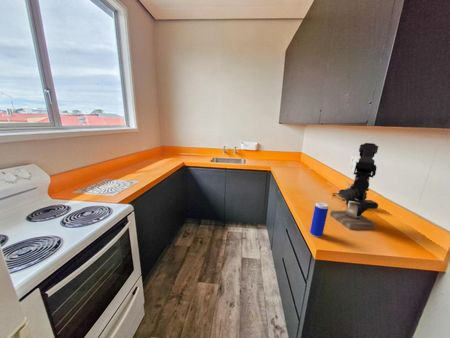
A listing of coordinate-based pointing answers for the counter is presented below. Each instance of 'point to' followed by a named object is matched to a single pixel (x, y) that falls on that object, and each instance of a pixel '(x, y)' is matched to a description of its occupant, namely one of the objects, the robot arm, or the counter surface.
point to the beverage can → (319, 219)
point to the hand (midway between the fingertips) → (353, 213)
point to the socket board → (352, 221)
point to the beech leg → (352, 209)
